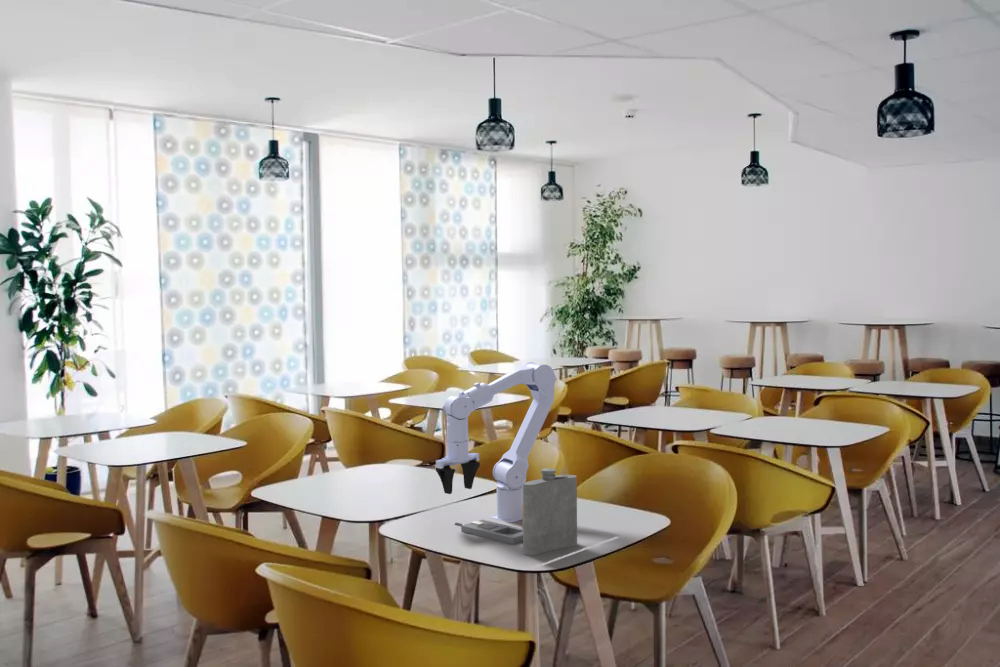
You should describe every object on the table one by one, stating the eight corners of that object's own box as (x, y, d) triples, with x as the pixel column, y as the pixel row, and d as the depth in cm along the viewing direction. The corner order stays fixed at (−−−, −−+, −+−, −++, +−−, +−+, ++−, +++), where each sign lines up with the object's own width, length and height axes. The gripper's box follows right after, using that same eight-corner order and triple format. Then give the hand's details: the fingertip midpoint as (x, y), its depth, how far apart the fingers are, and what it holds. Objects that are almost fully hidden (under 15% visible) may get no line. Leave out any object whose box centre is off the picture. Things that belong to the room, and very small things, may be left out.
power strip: (466, 523, 243) (466, 514, 243) (533, 539, 227) (533, 529, 227) (445, 529, 237) (445, 520, 237) (512, 546, 221) (512, 536, 221)
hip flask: (528, 558, 211) (528, 474, 210) (518, 554, 214) (517, 472, 213) (579, 546, 220) (579, 466, 219) (569, 543, 224) (568, 463, 223)
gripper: (466, 435, 248) (466, 484, 249) (427, 442, 237) (428, 493, 238) (484, 438, 243) (485, 487, 244) (446, 445, 233) (446, 497, 233)
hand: (458, 490), depth 241 cm, fingers open, 7 cm apart
